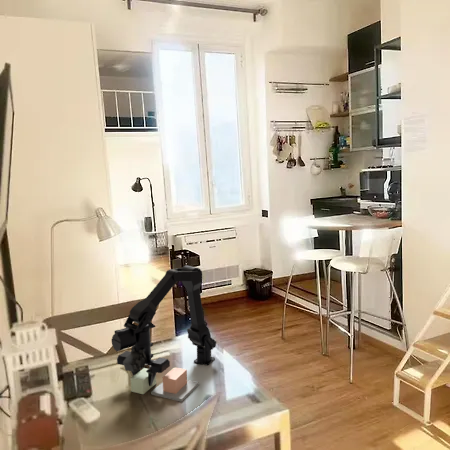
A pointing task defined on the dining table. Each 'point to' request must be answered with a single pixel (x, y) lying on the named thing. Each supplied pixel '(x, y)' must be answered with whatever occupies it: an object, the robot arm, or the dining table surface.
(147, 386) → the sage brick
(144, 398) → the dining table surface
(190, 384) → the grey baseplate
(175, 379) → the terracotta brick
